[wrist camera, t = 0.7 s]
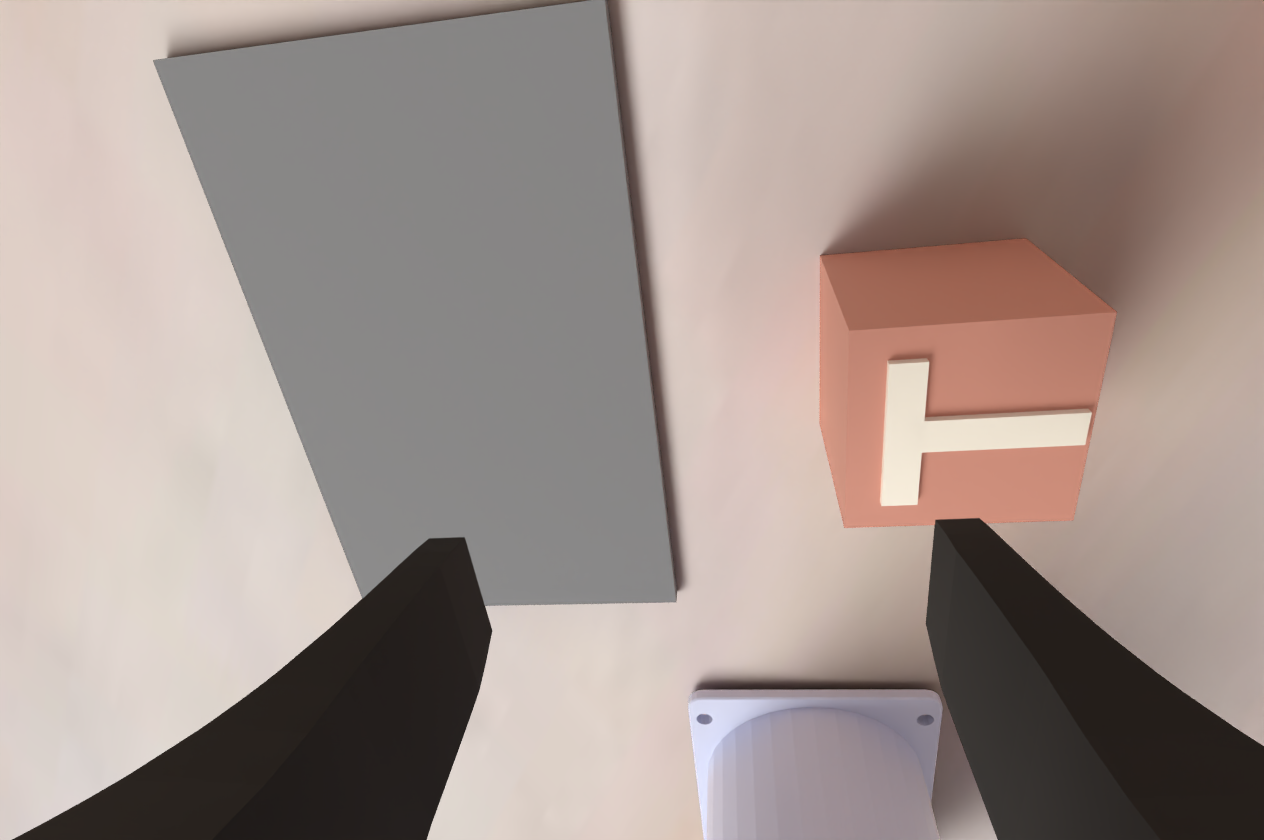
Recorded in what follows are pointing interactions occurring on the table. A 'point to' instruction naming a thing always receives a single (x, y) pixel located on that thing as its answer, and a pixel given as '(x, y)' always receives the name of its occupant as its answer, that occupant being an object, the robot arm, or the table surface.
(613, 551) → the charcoal mat
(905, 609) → the table surface
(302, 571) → the table surface
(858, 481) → the lettered cube
